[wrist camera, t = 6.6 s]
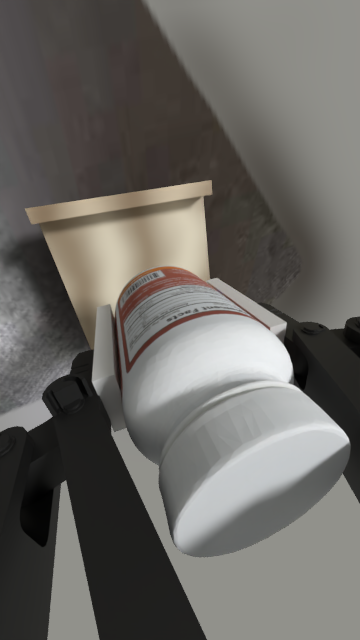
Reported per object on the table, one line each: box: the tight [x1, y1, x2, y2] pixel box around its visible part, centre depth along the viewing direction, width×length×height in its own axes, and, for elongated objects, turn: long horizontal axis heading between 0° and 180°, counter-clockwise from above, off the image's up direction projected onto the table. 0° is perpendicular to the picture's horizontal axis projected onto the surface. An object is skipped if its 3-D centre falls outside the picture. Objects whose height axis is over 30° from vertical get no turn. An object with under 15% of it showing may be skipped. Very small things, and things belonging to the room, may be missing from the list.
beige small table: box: [25, 180, 212, 350], centre depth 24 cm, size 14×14×8 cm
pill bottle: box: [115, 266, 351, 557], centre depth 10 cm, size 6×6×11 cm
